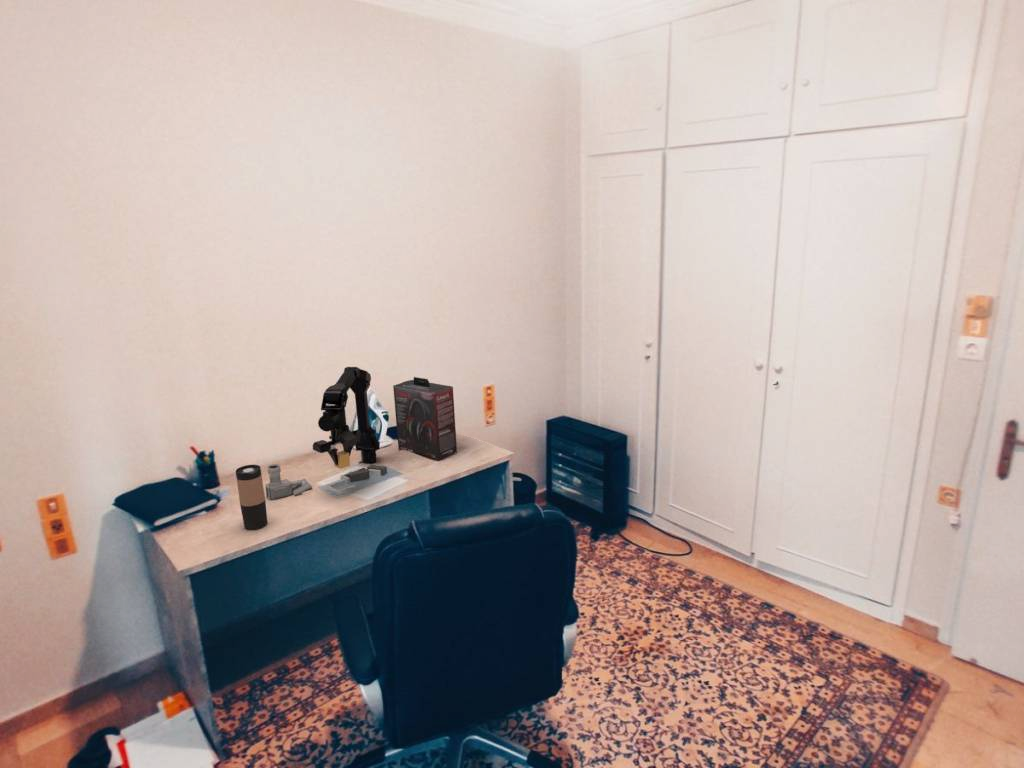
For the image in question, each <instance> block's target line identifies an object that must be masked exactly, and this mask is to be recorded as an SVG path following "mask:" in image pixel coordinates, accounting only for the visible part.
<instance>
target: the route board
mask: <svg viewBox="0 0 1024 768" xmlns="http://www.w3.org/2000/svg"><path fill="white" fill-rule="evenodd" d="M366 469H368V470H370V471H371V477H369V479H367V480H362V481H356V482H351V483H350V485H347V484H345V485H343V486H340V487H337V488H335V489H337V490H341V489H344V488H347V487H350V486H352V485H355V487H356V490H354V491H352V492H349V493H346V494H344V495H341V496H336V495H335V494H333V493H331V492H329V491H327V490H326V486H327V485H330V484H333V483H335V482H338V481H341V478H340V479H338V480H335V481H332V482H329V483H327V484H324V485H321V486H317V489H319V490H321V491H323V492H325V493H327V494H329V495H331V496H332V497H334V498H336V499H339V498H341V497H344V496H347V495H350V494H353V493H355V492H358V491H361V490H363V489H366V488H369V487H371V486H374V485H377V484H379V483H383V482H385V481H387V480H390V479H393V478H396V477H398V476H400V475H404V473H402V472H400V471H398V470H396V469H393V468H391V467H389V466H386V465H384V464H381V465H376V464H370V465H368V466H367V468H366Z"/></svg>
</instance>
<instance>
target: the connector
mask: <svg viewBox="0 0 1024 768" xmlns="http://www.w3.org/2000/svg"><path fill="white" fill-rule="evenodd" d="M350 458H351V457H349V453H348V452H345V451H344V450H340V451H337V459H338V465H335V463H334V462H333V463H334V467H335V468H337V469H339V470H342V469H345V468H349V467H351V460H350Z"/></svg>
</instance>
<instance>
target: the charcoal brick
mask: <svg viewBox="0 0 1024 768" xmlns="http://www.w3.org/2000/svg"><path fill="white" fill-rule="evenodd" d="M353 471H354V472H352V471H350V472H348V473H349V478H350V483H351V482H356V481H362V480H367V479H369V473H368V470H367V468H366V469H365V470H360V471H355V470H353Z"/></svg>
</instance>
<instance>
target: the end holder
mask: <svg viewBox="0 0 1024 768" xmlns="http://www.w3.org/2000/svg"><path fill="white" fill-rule="evenodd" d="M337 481H338V480H337ZM334 482H335V481H334ZM343 485H345V480H341V481H338V482H335V483H333V484H330V485H327V486H326V490H327V491H329V492H331V493H333V494H335V495H336V496H341V495H344V494H346V493H349V492H352V491H354V490H356V487H355V485H352V486H350V487H347V488H344V489H341V490H337V489H335V488H337V487H340V486H343Z"/></svg>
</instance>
